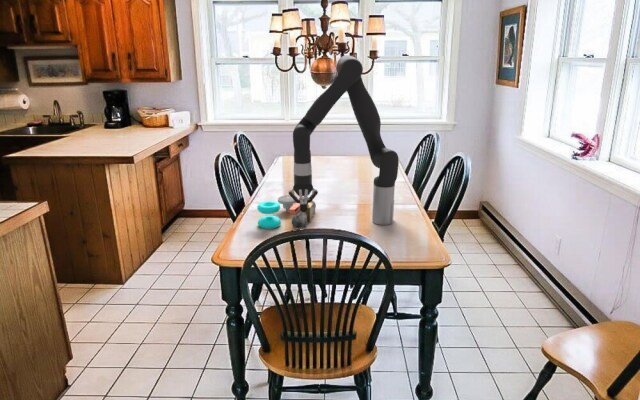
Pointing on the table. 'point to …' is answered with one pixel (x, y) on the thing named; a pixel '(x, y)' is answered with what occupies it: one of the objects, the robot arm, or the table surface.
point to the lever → (296, 207)
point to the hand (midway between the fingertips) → (303, 211)
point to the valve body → (304, 216)
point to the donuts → (269, 208)
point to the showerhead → (286, 202)
